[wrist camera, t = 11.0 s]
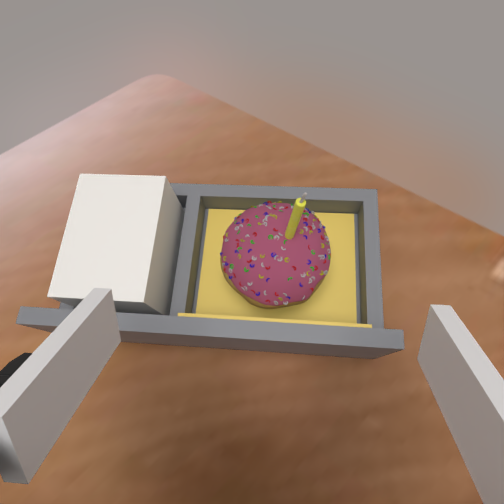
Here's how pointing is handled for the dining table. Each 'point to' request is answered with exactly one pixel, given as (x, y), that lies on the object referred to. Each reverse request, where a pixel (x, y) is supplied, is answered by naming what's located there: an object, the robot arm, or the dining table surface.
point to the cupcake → (276, 254)
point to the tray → (260, 319)
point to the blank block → (121, 243)
